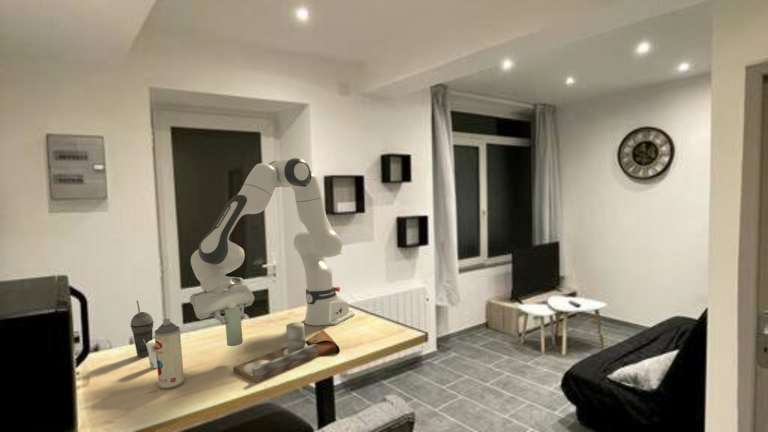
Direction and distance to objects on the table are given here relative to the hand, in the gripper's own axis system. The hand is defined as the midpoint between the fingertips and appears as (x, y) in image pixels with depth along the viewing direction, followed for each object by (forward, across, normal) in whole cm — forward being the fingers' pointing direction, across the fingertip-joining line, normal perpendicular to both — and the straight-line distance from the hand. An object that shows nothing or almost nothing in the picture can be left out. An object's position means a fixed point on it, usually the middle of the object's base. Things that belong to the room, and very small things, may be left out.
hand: (234, 320), depth 143 cm
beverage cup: (-13, -17, +33) cm, 39 cm away
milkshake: (-3, -19, +23) cm, 30 cm away
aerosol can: (+9, -21, +10) cm, 25 cm away
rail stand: (+19, +7, 0) cm, 20 cm away
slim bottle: (+5, 0, +6) cm, 8 cm away
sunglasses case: (+20, +25, 0) cm, 32 cm away
